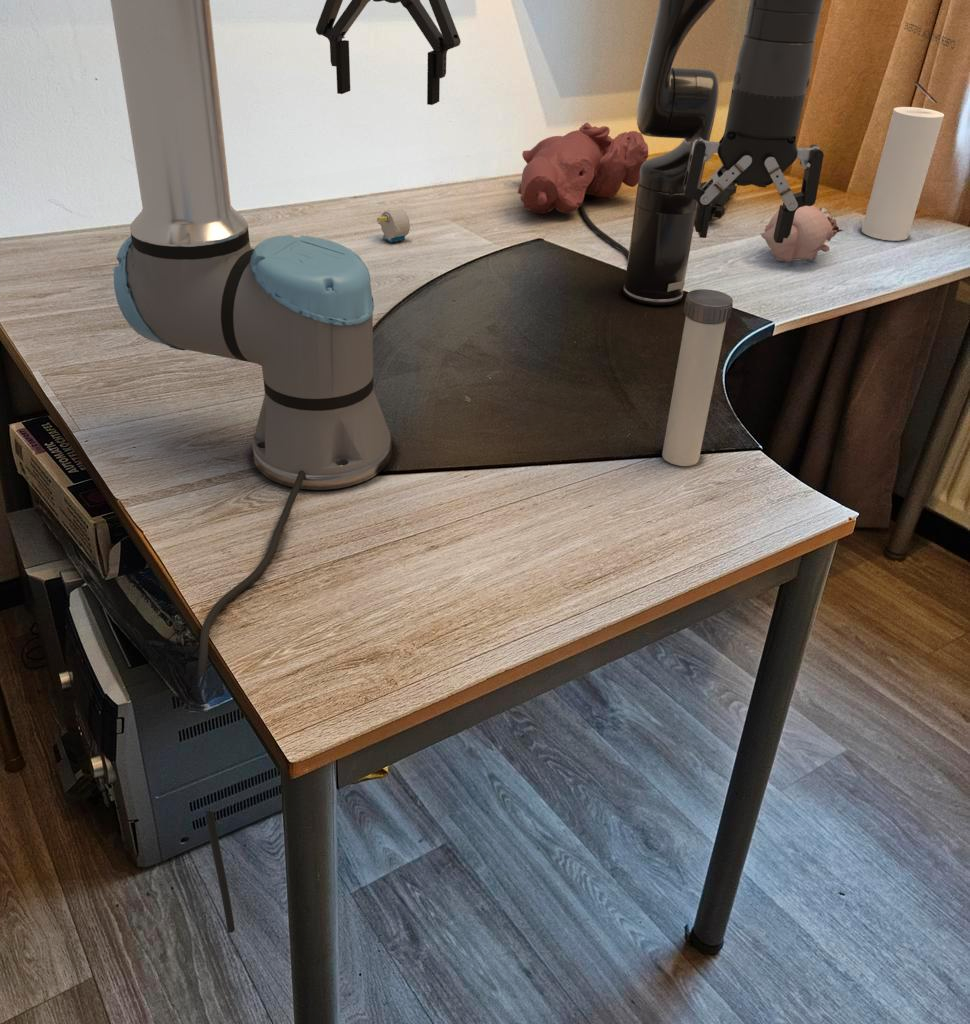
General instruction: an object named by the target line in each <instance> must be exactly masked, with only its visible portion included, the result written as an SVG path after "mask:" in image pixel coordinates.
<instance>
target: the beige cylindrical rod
mask: <svg viewBox="0 0 970 1024" xmlns="http://www.w3.org/2000/svg"><path fill="white" fill-rule="evenodd" d="M726 324H727V321H725V322H722V323H704V322H699V321H695V320H693V319H690V318H689V317H687V316H686V315H685V318H684V325H683V330H682V335H681V342H680V348H679V354H678V359H677V365H676V371H675V377H674V383H673V387H672V388H673V389H672V395H671V400H670V406H669V412H668V416H667V422H666V423H667V424H666V429H665V435H664V441H663V447H662V452H661V456H662V458H663V459H664V460H665V461H666V462H667V463H669V464H671V465H674V466H679V467H691V466H694V465H696V464H698V462H699V461H700V457H701V452H702V446H703V441H704V436H705V431H706V427H707V426H706V425H707V422H708V416H709V410H710V406H711V400H712V397H713V391H714V386H715V380H716V376H717V370H718V365H719V361H720V355H721V350H722V346H723V341H724V336H725V335H724V334H725V329H726Z"/></svg>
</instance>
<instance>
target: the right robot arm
mask: <svg viewBox="0 0 970 1024" xmlns="http://www.w3.org/2000/svg"><path fill="white" fill-rule="evenodd" d="M824 1H825V0H750V1H749V7H748V11H747V12H748V13H747V18H746V23H745V29H744V35H743V39H742V43H741V46H740V49H739V53H738V56H737V59H736V60H737V61H736V65H735V70H734V76H733V81H732V88H731V93H730V98H729V105H728V110H727V116H726V122H725V128H724V132H723V135H722V137H721V138H720V140H719V141H714V140H713V141H712V140H711V137H712V136H711V134H712V132H713V127H714V122H715V119H716V115H717V114H716V112H717V109H718V102H719V93H720V92H719V90H720V89H719V85H720V84H719V79H718V76H717V74H716V73H715V72H714V71H713V70H712V69H705V68H691V67H690V68H689V67H673V64H674V62H675V58H676V56H677V54H678V53H679V50H680V48H681V46H682V44H683V43H684V40H685V38H686V37H687V36H688V34H689V33H690V31H691V30H692V29H693V27H694V26H695V25H696V24H697V23H698V21H699V20H700V19H701V18H702V17H703V15H704V14H706V12H707V11H708V10H709V9H710V7H711V6H712V5H713V4H714V3H715V2H716V0H658V3H657V10H656V16H655V19H654V20H655V21H654V27H653V30H652V35H651V40H650V44H649V49H648V53H647V57H646V61H645V65H644V69H643V74H642V78H641V79H642V80H641V84H640V88H639V93H638V98H637V106H636V124H637V128H638V131H639V133H642V136H645V137H650V138H651V137H652V138H665V139H682V141H681V142H680V144H679V145H678V146H676V147H675V148H673V149H671V150H670V151H668V152H666V153H663V154H661V155H658V156H655V157H651V158H649V159H646V160H647V161H645V162H644V163H643V164H642V165H641V168H640V172H639V179H638V184H637V189H636V196H635V197H636V198H635V205H634V210H633V220H632V227H631V233H630V243H629V247H628V248H629V249H627V247H625V246H623V245H622V244H621V243H619V242H617V241H616V240H615V239H613V238H612V237H610V236H609V235H608V234H606V233H605V232H604V231H602V230H601V229H600V228H599V227H597V226H596V224H595V223H594V222H592V220H591V219H590V218H589V216H588V214H587V212H586V210H585V204H584V201H583V202H582V204H581V205H580V207H579V209H580V214H581V215H582V217H583V218H584V221H585V222H586V223H587V224H588V226H589V227H590V228H591V229H592V230H593V231H594V232H595V233H596V234H598V235H599V236H600V237H602V238H603V239H604V240H606V241H607V242H608V243H610V244H611V245H612V246H614V247H616V248H617V249H619V250H620V251H621V252H623V253H624V254H625V255H626V256H627V264H626V265H627V266H626V272H625V279H624V284H623V289H622V292H623V295H624V296H625V297H626V298H627V299H629V300H631V301H634V302H636V303H639V304H643V305H648V306H649V305H650V306H670V305H675V304H678V303H679V302H681V301H682V300H683V298H684V297H683V296H684V287H685V282H686V276H687V270H688V266H689V265H688V264H689V258H690V252H691V247H692V242H693V241H692V240H693V236H694V235H693V234H694V229H695V233H698V237H699V238H700V239H701V238H702V239H706V238H707V236H708V230H709V227H710V226H709V225H710V222H709V220H710V214H711V209H712V205H711V201H712V200H713V199H714V198H715V197H716V196H717V195H718V194H719V193H720V192H721V191H723V190H725V189H726V188H727V187H728V186H729V185H730V184H731V183H732V182H734V183H736V184H735V185H736V186H737V187H738V186H740V187H746V186H755V187H758V188H767V186H771V185H772V184H773V185H774V187H775V190H776V191H777V192H778V195H779V197H780V198H781V200H782V205H781V204H780V205H779V208H778V211H779V213H778V218H777V222H776V227H775V231H774V240H775V243H783V239H784V238H788V237H789V235H790V233H791V228H792V224H793V219H794V215H795V212H796V210H797V209H798V208H800V207H803V206H812V205H813V206H815V204H816V200H817V196H818V189H819V184H820V178H821V173H822V169H823V161H824V155H825V154H824V152H823V150H822V149H821V148H820V146H819V145H818V144H815V143H813V144H811V145H810V146H809V147H798V146H797V137H798V131H799V127H800V122H801V117H802V114H803V109H804V105H805V101H806V95H807V90H808V88H809V86H810V82H811V78H810V77H811V72H812V66H813V59H814V47H815V41H816V36H817V31H818V27H819V24H820V23H819V22H820V19H821V13H822V10H823V5H824ZM715 154H717V156H718V158H719V160H720V162H721V165H720V166H719V168H717V170H715V172H713V174H712V175H711V177H710V178H709V179H708V180H707V181H706V182H707V183H706V184H705V185H704V186H703V187H700V186H701V183H702V179H703V175H704V172H705V171H704V170H705V166H706V163H707V162H709V161H710V159H711V157H712V156H713V155H715ZM797 159H798V160H799V165H800V166H801V167H802V169H804V171H803V177H802V182H801V189H800V191H799V192H796V193H793V191H792V189H791V187H790V185H789V183H788V181H787V179H786V177H785V175H784V172H785V171H787V169H788V168H790V167H791V165H792V164H793V163H794V162H795V161H796V160H797ZM723 171H724V172H723Z"/></svg>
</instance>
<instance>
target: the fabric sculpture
mask: <svg viewBox="0 0 970 1024" xmlns="http://www.w3.org/2000/svg"><path fill="white" fill-rule="evenodd" d="M610 130H611V129H610V127H608V126H607V125H605V126H604V125H602V126H600V127H598V126H592V125H591V124H590V123H589V122H585V123H584V124H581V126H580V127H579V129H576V130H573V131H570V132H568V133H566V134H565V135H554V136H549V137H546V138H544V139H542V140H540V141H539V142H538V143H536V145H535V146H534V147H532V148H531V149H529V150H523V151H522V153H521V156H522V158H523V160H524V162H525V163H526V164H525V166H524V168H523V170H522V172H521V173H522V174H521V180H520V181H521V182H520V185H519V186H518V189H517V194H518V195H520V200H521V202H522V203H523V207H524V209H525V210H529V211H530V212H532V213H535V214H546V213H549V212H551V211H552V210H553V209H554V208H555V209H556V210H557V211H559V212H560V213H564V214H569V213H573V212H575V211H578V209H580V205H581V204H582V202H583V203H584V199H585V195H591V196H593V197H596V198H599V197H604V198H606V197H608V198H610V197H613V196H614V195H617V194H618V192H619V191H620V189H621V186H622V184H624V185H625V186H627V187H631V188H635V187H636V186H638V179H639V172H640V168H641V165H642V164H643V163H644V162H645V161H647V160H648V157H649V146H648V143H647V142H646V141H645V139H644V135H643V134H642V133H641V132H640V131H639V132H638V131H636V130H631V131H628V132H627V131H624V132H621V133H618V135H617V136H615V137H614V138H612V137H611V136H610V135H609V134H610Z"/></svg>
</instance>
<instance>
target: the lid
mask: <svg viewBox="0 0 970 1024" xmlns="http://www.w3.org/2000/svg"><path fill="white" fill-rule="evenodd" d="M684 300H685V301H684V305H683V313H684V315H685V317H686V316H687V317H689V318H690V319H693V320H695V321H699V322H704V323H722V322H725V321H726V322H727V321H729V319H731V316H732V312H733V311H732V310H733V307H734V304H733V303H734V300H733V297H731V296H730V295H729V294H728V293H726V292H722V291H719V290H714V289H707V288H699V289H694V290H690V291H689V292H688V293H687V294H686V297H685V299H684Z"/></svg>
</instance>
